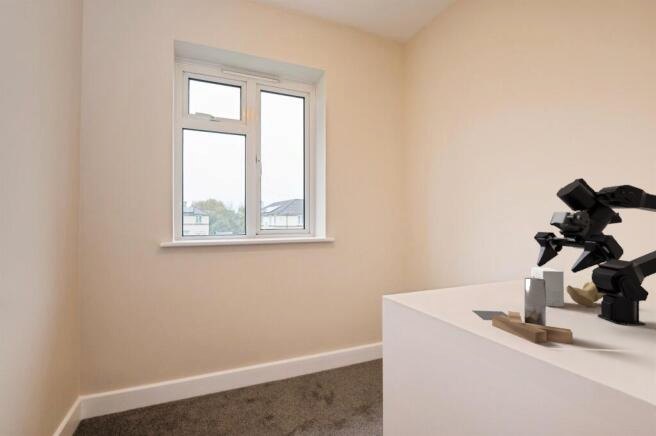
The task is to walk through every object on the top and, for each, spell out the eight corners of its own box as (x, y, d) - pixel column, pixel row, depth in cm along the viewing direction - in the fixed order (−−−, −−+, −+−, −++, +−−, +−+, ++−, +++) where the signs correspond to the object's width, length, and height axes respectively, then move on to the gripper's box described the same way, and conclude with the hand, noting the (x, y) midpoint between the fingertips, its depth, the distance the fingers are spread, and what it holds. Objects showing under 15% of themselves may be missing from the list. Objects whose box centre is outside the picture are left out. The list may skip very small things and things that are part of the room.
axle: (533, 328, 72) (533, 277, 72) (550, 334, 68) (550, 280, 69) (520, 330, 71) (520, 278, 71) (536, 336, 67) (537, 281, 67)
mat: (501, 312, 85) (501, 311, 85) (517, 322, 77) (517, 320, 77) (471, 311, 85) (471, 310, 85) (483, 320, 77) (483, 319, 77)
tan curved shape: (562, 283, 95) (592, 271, 98) (561, 302, 98) (590, 290, 100) (590, 297, 88) (622, 283, 90) (588, 317, 90) (619, 303, 93)
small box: (564, 307, 90) (564, 271, 90) (542, 306, 91) (543, 270, 91) (550, 300, 98) (550, 267, 98) (530, 299, 99) (530, 266, 99)
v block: (513, 320, 78) (513, 310, 78) (578, 344, 63) (578, 332, 63) (484, 323, 75) (484, 313, 75) (545, 349, 60) (545, 336, 60)
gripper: (539, 203, 86) (505, 242, 84) (613, 198, 68) (572, 249, 66) (562, 231, 88) (529, 270, 85) (641, 234, 69) (602, 284, 67)
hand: (554, 268), depth 76 cm, fingers open, 9 cm apart
